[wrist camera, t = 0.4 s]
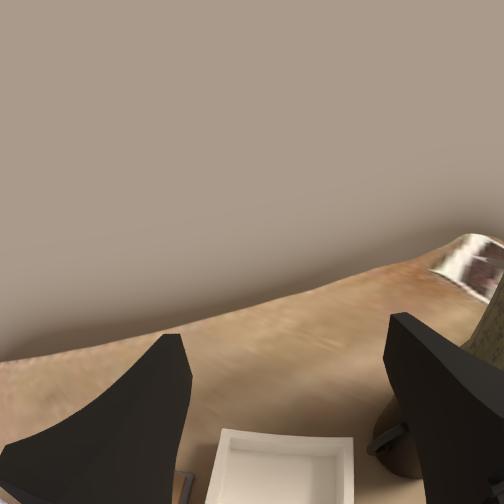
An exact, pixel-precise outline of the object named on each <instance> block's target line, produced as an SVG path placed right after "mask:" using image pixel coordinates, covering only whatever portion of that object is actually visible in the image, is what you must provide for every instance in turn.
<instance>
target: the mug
mask: <svg viewBox="0 0 504 504" xmlns="http://www.w3.org/2000/svg"><path fill="white" fill-rule="evenodd" d="M367 453H368V455H372V456H376V455H377V456H378V458H379V460H380V461H381V462H382V464H383V465H384V466H385V467H386V468H387V469H388V470H390V471H391V472H393V473H394V474H396V475H399V476H402V477H406V478H423V476H422V471H421V467H420V462H419V457H418V454H417V450H416V446H415V442H414V439H413V436H412V433H411V430H410V428H409V425H408V423H407V421H406V418H405V416H404V414H403V411H402V409H401V407H400V404H399V402H398V400H397V398H396V395H394V396H393V398H392V399H391V401H390V403H389V404H388V406H387V407H386V409H385V410H384V412H383V413H382V415H381V416H380V417H379V419H378V421H377V423H376V425H375V429H374V435H373V442H372V443H371V444H370V445H369V446H368V448H367Z"/></svg>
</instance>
